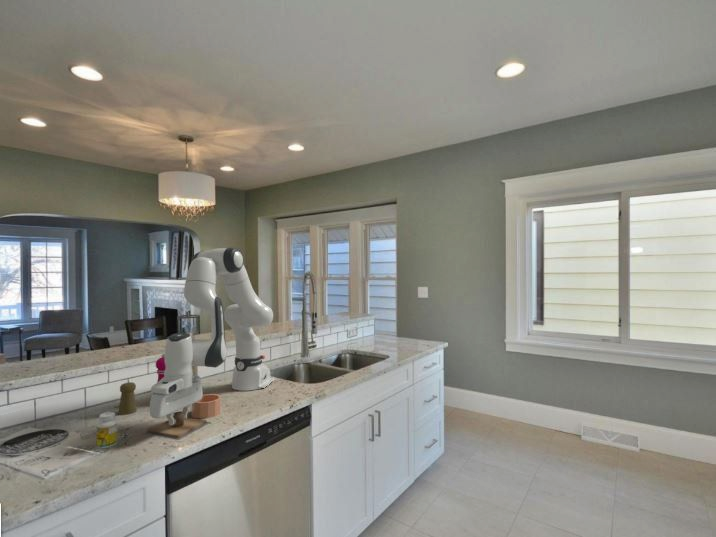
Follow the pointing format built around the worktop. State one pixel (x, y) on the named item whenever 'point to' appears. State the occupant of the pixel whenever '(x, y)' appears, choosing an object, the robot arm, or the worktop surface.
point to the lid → (177, 426)
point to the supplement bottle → (106, 430)
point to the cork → (127, 399)
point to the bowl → (207, 406)
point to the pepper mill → (160, 367)
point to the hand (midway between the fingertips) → (177, 421)
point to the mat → (174, 437)
